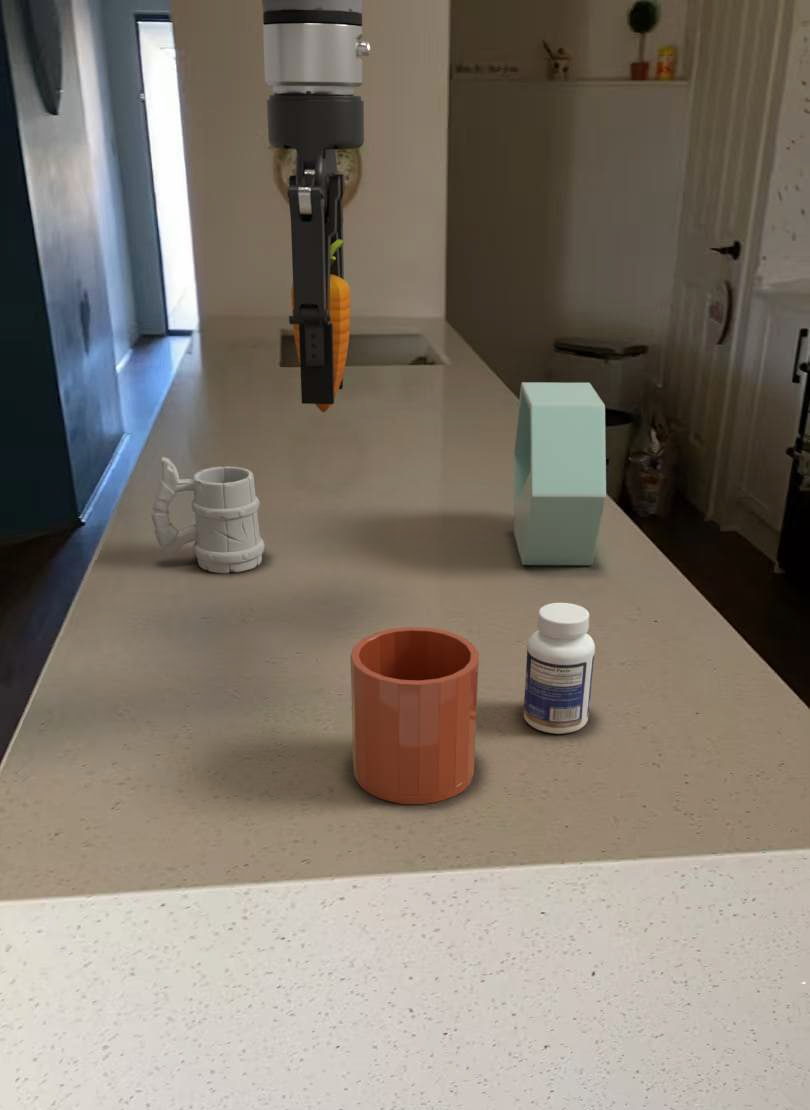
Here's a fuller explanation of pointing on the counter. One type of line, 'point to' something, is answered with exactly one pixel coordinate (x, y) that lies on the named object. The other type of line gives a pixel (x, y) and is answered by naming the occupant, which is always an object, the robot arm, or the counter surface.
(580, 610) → the pill bottle
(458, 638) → the cup
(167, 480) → the mug
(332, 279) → the carrot
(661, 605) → the counter surface
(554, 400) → the planter
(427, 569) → the counter surface
